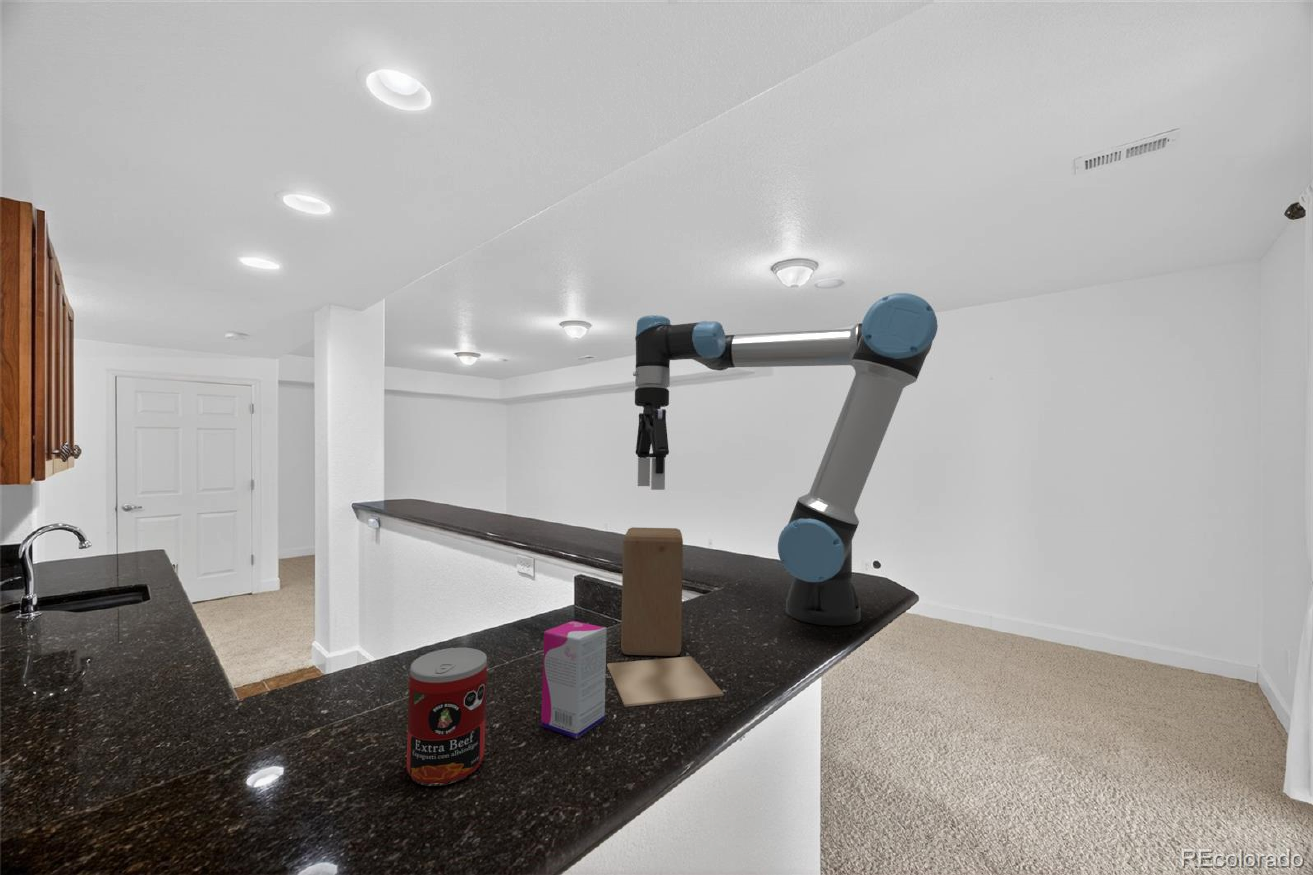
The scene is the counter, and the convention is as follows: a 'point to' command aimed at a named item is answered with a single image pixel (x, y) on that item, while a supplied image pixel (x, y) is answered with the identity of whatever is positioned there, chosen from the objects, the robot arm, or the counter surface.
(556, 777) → the counter surface
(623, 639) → the wooden block
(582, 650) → the supplement box
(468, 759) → the canned food
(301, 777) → the counter surface
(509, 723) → the counter surface
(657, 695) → the cork mat
